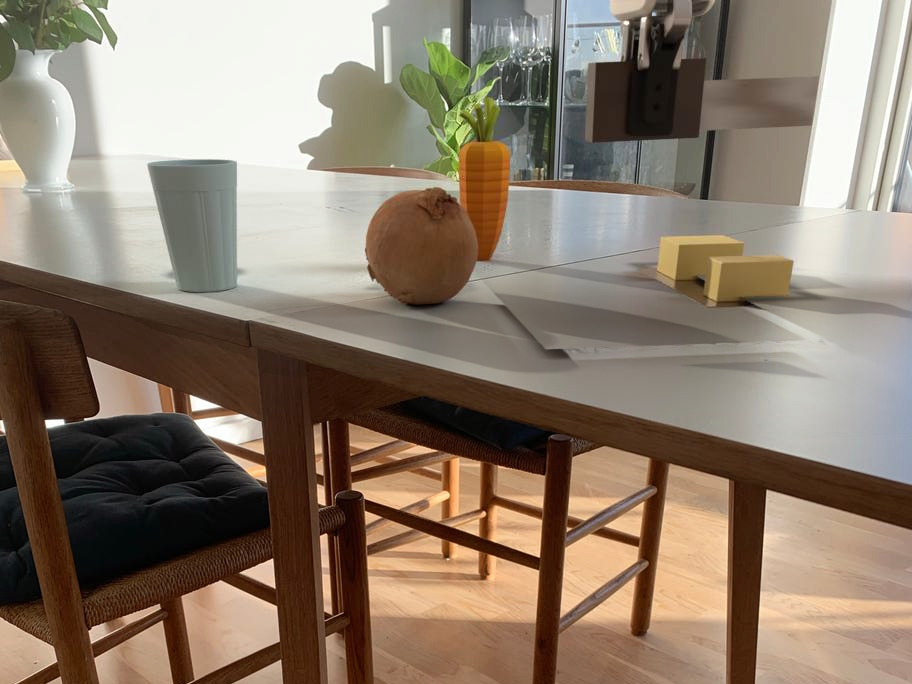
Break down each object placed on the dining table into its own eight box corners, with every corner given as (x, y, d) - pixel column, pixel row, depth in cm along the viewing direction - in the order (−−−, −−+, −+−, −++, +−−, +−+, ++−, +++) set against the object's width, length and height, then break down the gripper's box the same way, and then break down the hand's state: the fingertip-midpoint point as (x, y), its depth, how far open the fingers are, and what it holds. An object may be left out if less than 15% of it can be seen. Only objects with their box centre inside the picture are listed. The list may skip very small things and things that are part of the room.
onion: (459, 342, 81) (501, 235, 74) (352, 315, 78) (385, 202, 71) (452, 281, 87) (490, 177, 80) (352, 255, 84) (382, 144, 77)
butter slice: (771, 292, 79) (777, 254, 78) (787, 299, 77) (794, 260, 75) (702, 295, 79) (707, 256, 77) (716, 302, 76) (722, 262, 75)
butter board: (726, 274, 91) (727, 266, 91) (813, 313, 76) (814, 303, 75) (635, 277, 90) (636, 268, 90) (705, 317, 75) (706, 306, 74)
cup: (175, 279, 91) (159, 158, 86) (255, 279, 91) (243, 158, 86) (156, 295, 85) (136, 165, 79) (241, 294, 85) (228, 165, 79)
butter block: (718, 269, 89) (723, 235, 88) (739, 278, 85) (744, 242, 84) (657, 271, 89) (660, 236, 87) (675, 280, 84) (679, 244, 83)
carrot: (481, 273, 93) (484, 97, 85) (448, 267, 96) (448, 97, 88) (517, 267, 96) (523, 97, 88) (483, 262, 99) (486, 96, 91)
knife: (803, 131, 72) (814, 53, 69) (816, 132, 70) (828, 52, 67) (584, 141, 71) (587, 63, 68) (592, 142, 69) (595, 62, 66)
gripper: (782, -226, 54) (733, 139, 63) (686, -163, 68) (658, 129, 77) (654, -228, 53) (624, 141, 63) (584, -164, 67) (568, 131, 76)
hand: (643, 132), depth 70 cm, fingers closed on knife, 2 cm apart
